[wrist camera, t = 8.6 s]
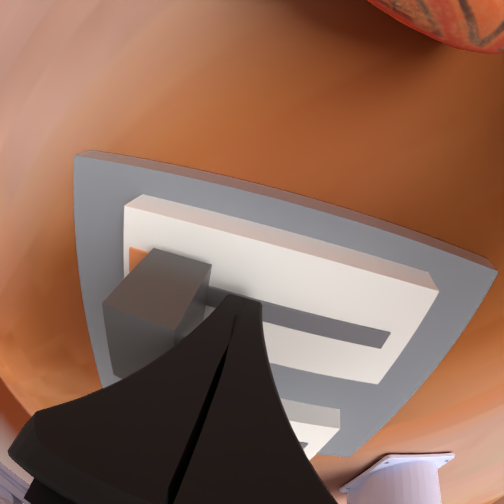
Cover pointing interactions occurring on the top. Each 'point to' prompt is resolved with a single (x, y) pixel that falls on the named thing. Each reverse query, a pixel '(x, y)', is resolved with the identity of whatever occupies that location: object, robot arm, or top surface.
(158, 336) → the gray slider knob
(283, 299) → the grey slider panel
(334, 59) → the top surface
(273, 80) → the top surface
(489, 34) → the pot
